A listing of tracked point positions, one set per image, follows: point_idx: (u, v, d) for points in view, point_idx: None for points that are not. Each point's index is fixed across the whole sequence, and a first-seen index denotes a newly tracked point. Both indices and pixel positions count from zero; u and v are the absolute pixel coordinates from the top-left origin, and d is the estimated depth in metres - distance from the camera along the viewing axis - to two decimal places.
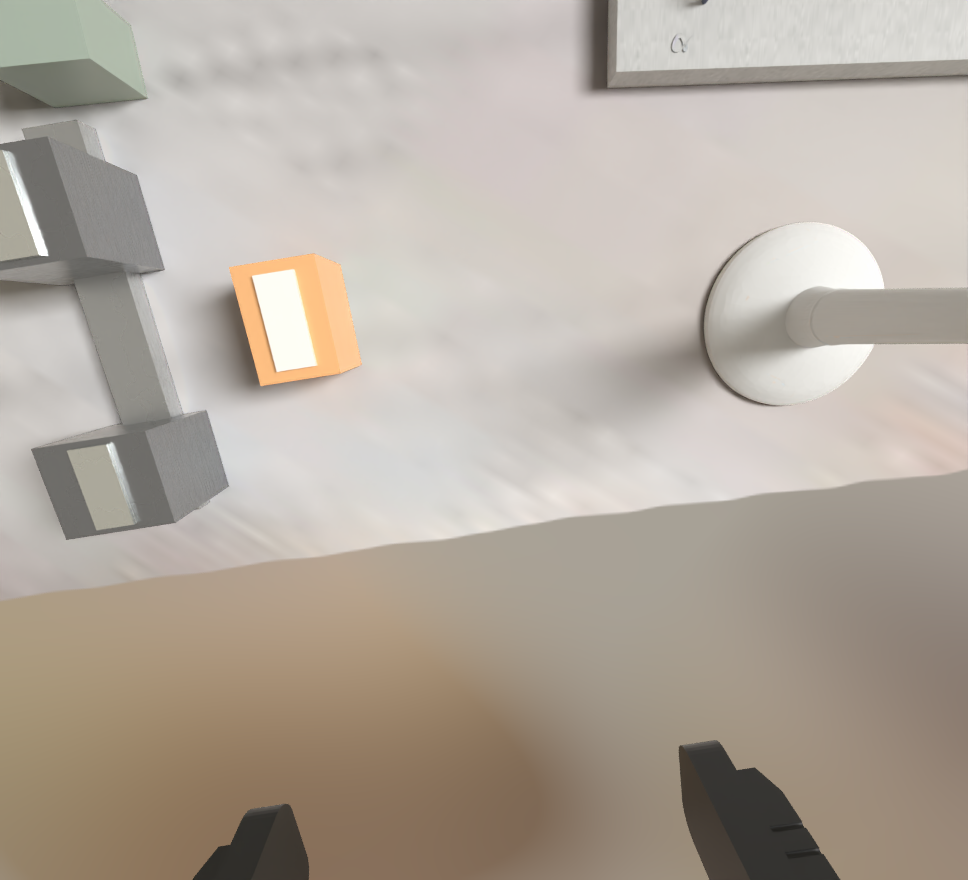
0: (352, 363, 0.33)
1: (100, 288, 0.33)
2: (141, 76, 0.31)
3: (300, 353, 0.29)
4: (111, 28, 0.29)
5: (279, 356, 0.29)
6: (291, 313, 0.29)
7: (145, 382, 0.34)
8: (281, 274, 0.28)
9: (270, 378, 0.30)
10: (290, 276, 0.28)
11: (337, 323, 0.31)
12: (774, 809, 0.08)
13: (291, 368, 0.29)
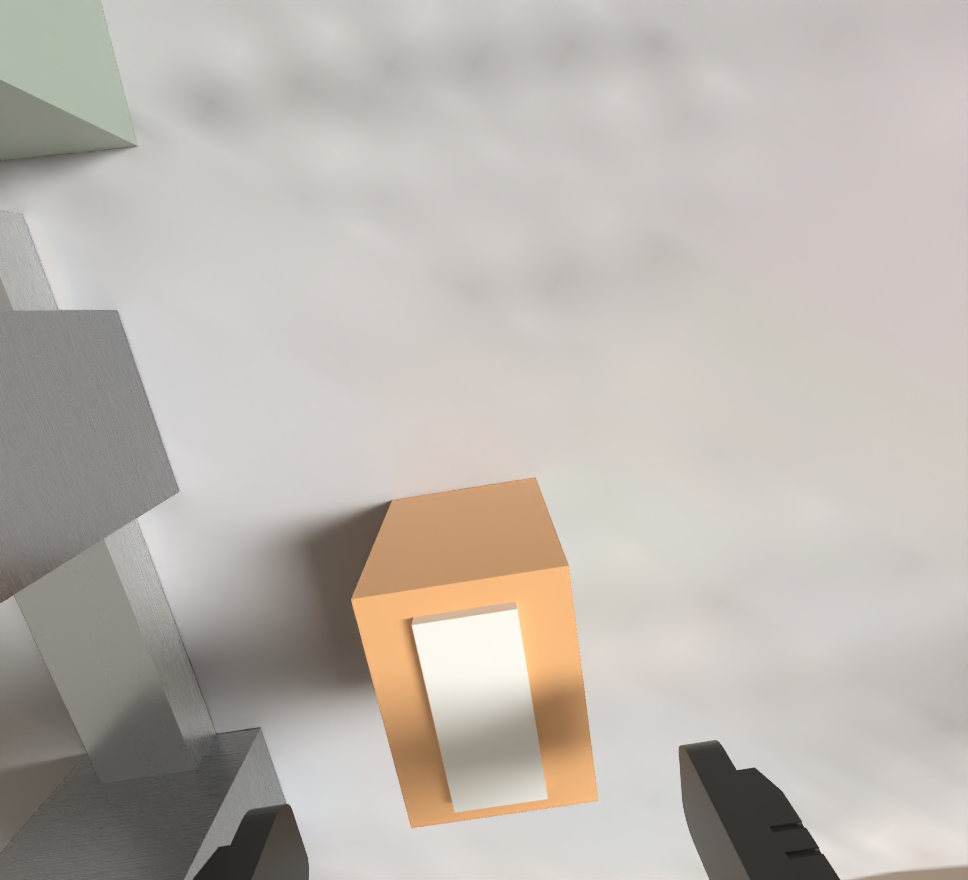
0: None
1: None
2: (122, 97, 0.13)
3: (515, 777, 0.12)
4: None
5: (464, 784, 0.12)
6: (502, 700, 0.12)
7: (144, 713, 0.17)
8: (486, 621, 0.11)
9: (435, 814, 0.13)
10: (509, 625, 0.11)
11: None
12: (774, 809, 0.08)
13: (490, 804, 0.12)
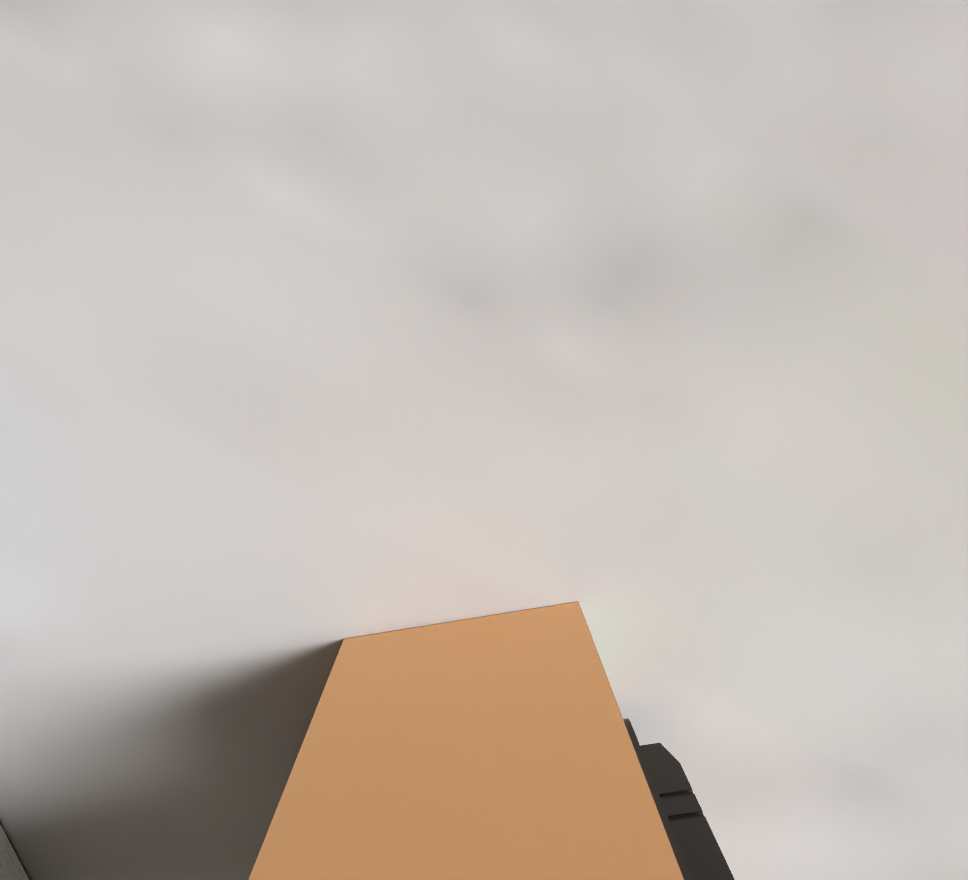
0: None
1: None
2: None
3: None
4: None
5: None
6: None
7: None
8: None
9: None
10: None
11: None
12: (669, 778, 0.09)
13: None
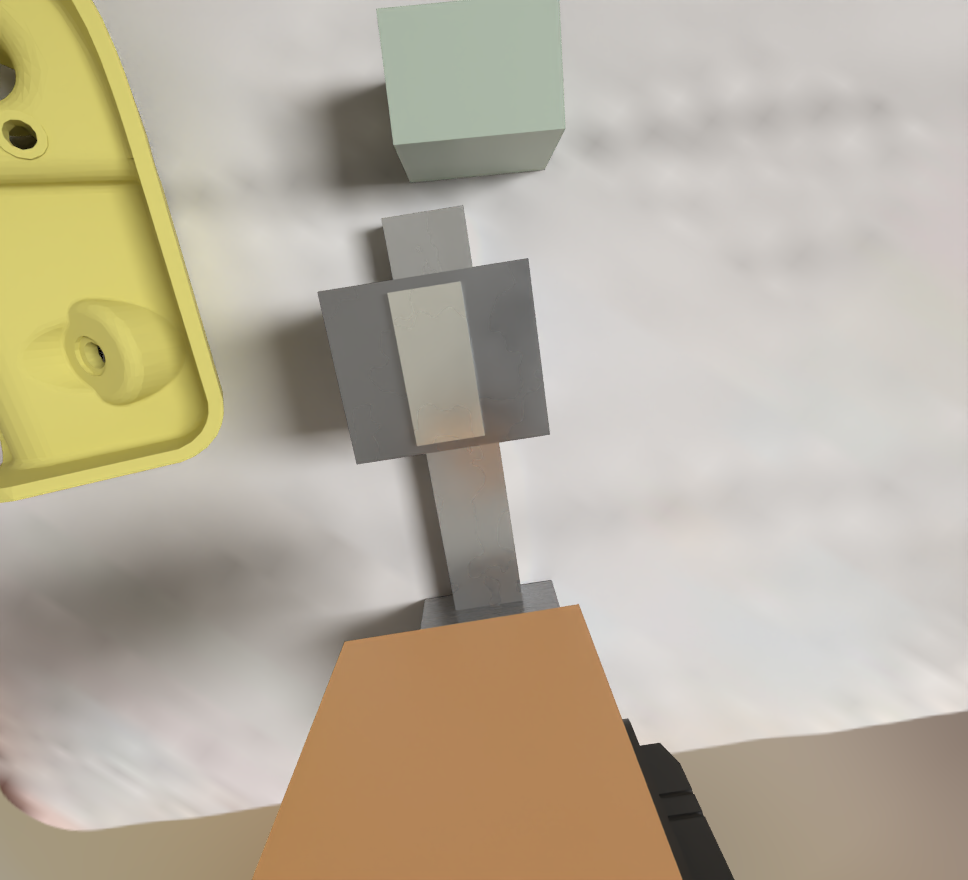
0: None
1: None
2: None
3: None
4: None
5: None
6: None
7: (496, 556, 0.25)
8: None
9: None
10: None
11: None
12: (669, 778, 0.09)
13: None
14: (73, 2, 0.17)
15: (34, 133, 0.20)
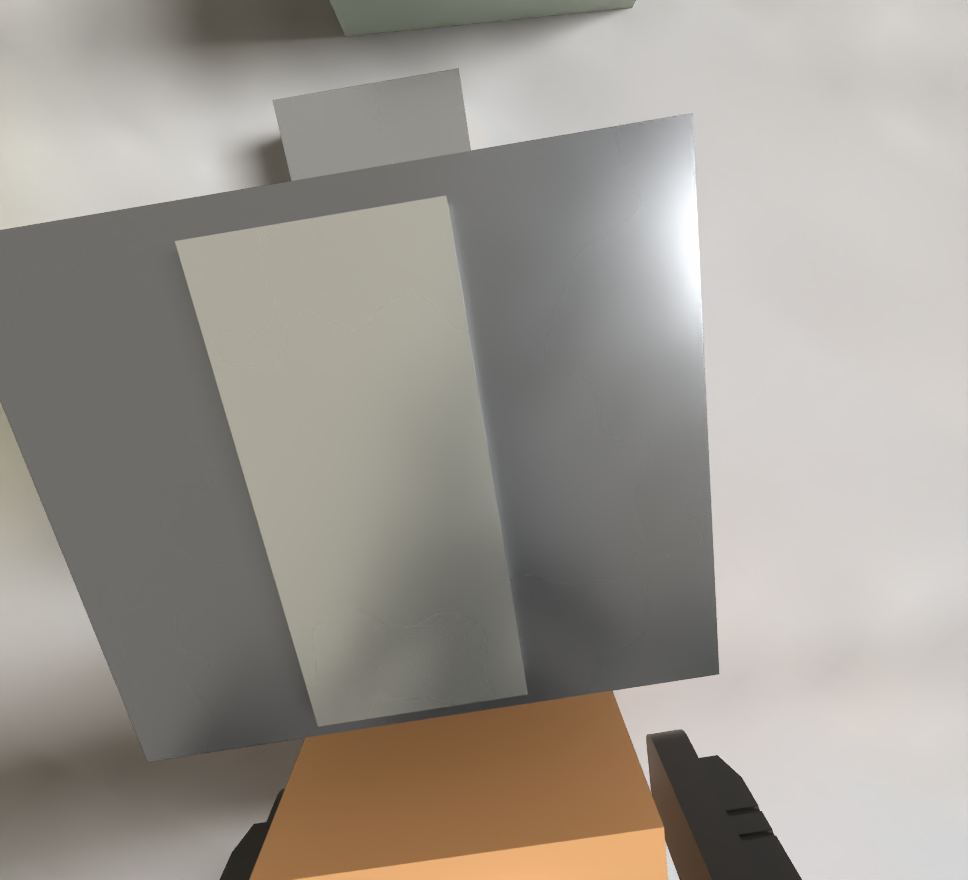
0: None
1: None
2: None
3: None
4: None
5: None
6: None
7: None
8: None
9: None
10: None
11: None
12: (733, 794, 0.09)
13: None
14: None
15: None
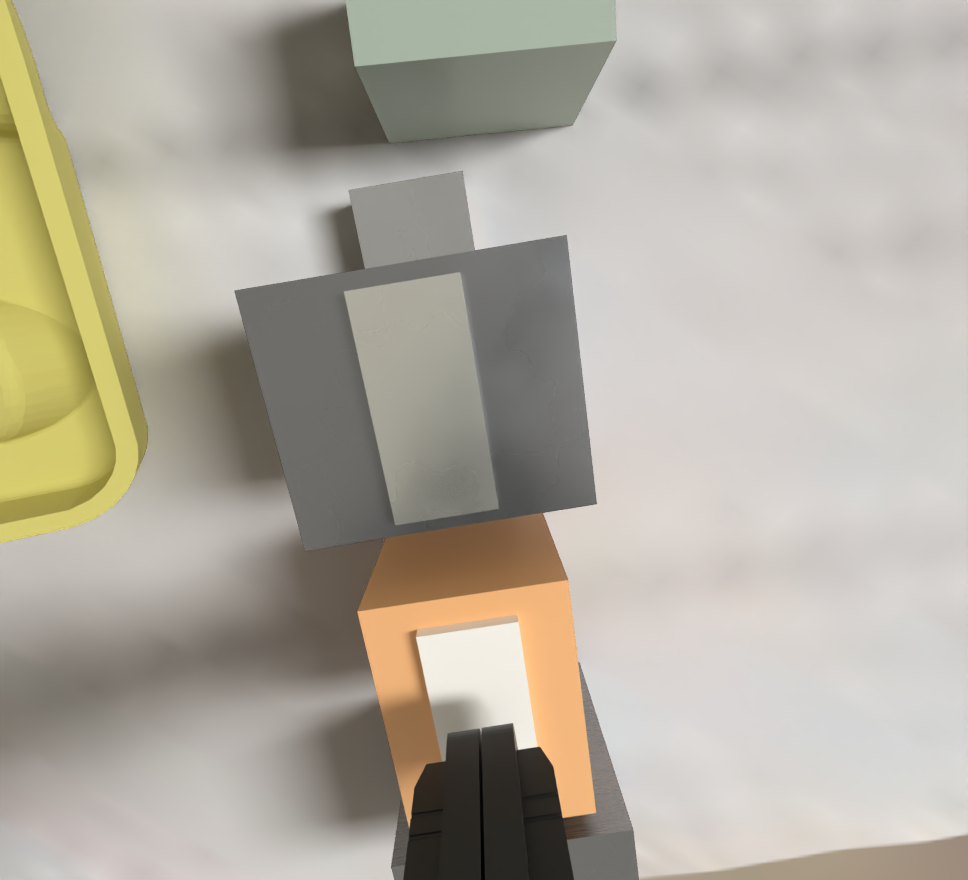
0: None
1: None
2: None
3: None
4: None
5: None
6: (503, 712, 0.12)
7: None
8: (488, 634, 0.11)
9: None
10: (510, 637, 0.11)
11: None
12: (540, 781, 0.10)
13: None
14: None
15: None
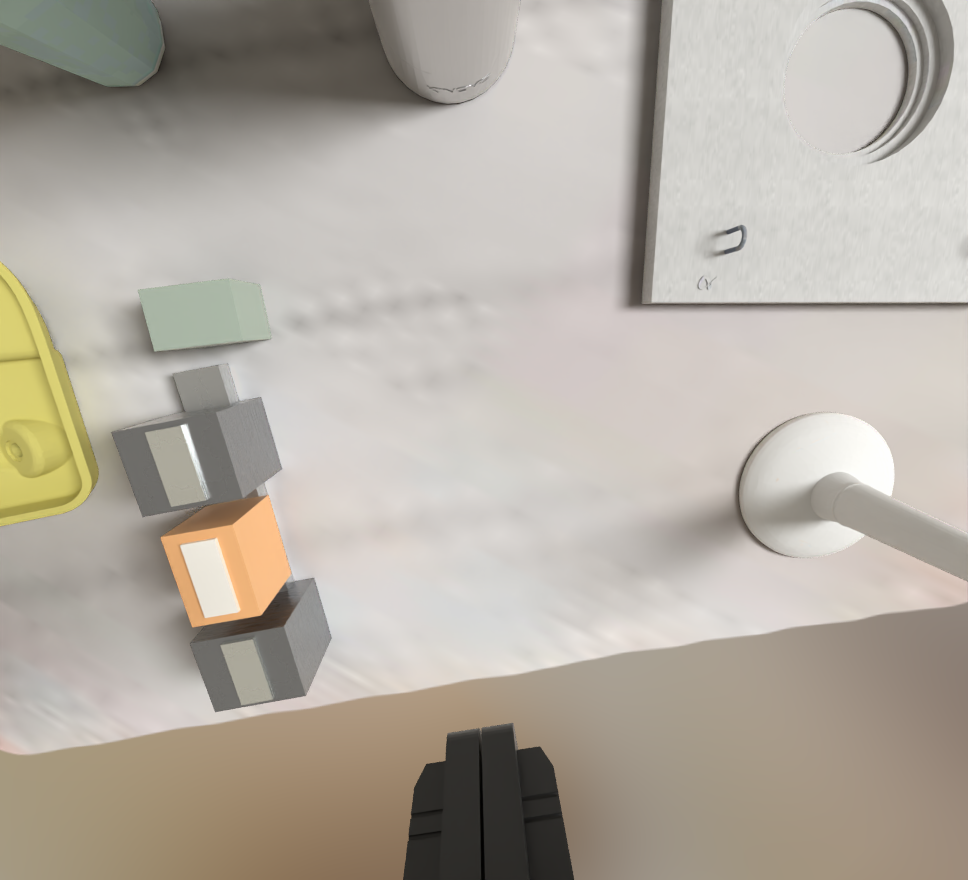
0: (278, 586, 0.38)
1: None
2: (267, 323, 0.37)
3: (224, 603, 0.34)
4: (251, 300, 0.35)
5: (206, 606, 0.34)
6: (215, 573, 0.33)
7: None
8: (204, 543, 0.33)
9: (200, 621, 0.34)
10: (212, 545, 0.33)
11: (260, 565, 0.36)
12: (540, 781, 0.10)
13: (217, 614, 0.34)
14: (8, 284, 0.33)
15: None
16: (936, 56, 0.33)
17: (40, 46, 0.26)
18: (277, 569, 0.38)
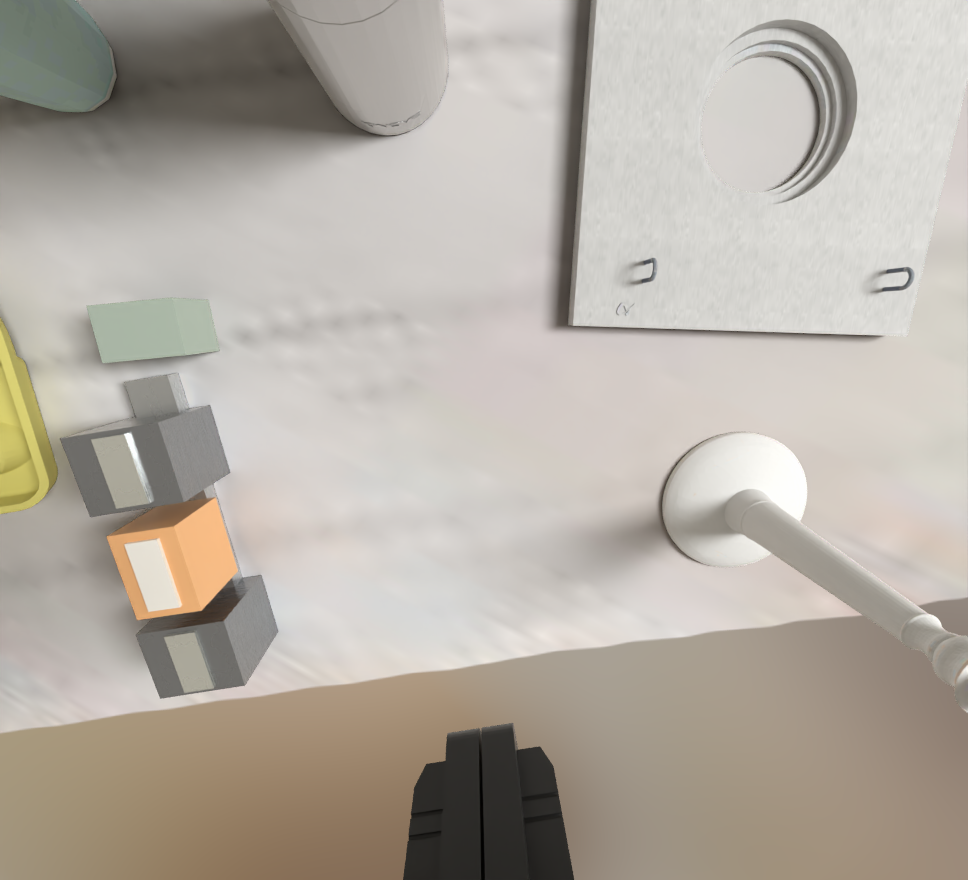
0: (222, 583, 0.40)
1: None
2: (215, 336, 0.39)
3: (166, 598, 0.36)
4: (197, 316, 0.37)
5: (150, 601, 0.36)
6: (157, 570, 0.36)
7: None
8: (147, 543, 0.35)
9: (144, 614, 0.37)
10: (154, 544, 0.35)
11: (202, 564, 0.38)
12: (540, 781, 0.10)
13: (160, 609, 0.37)
14: None
15: None
16: (843, 105, 0.36)
17: None
18: (222, 567, 0.41)
